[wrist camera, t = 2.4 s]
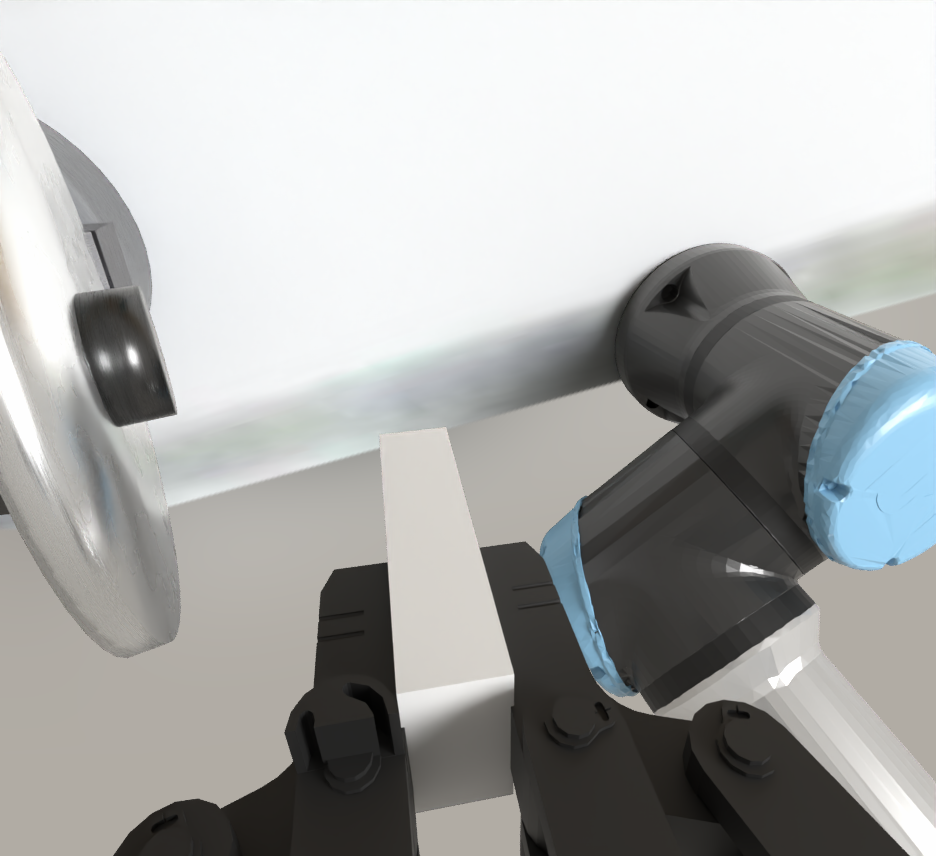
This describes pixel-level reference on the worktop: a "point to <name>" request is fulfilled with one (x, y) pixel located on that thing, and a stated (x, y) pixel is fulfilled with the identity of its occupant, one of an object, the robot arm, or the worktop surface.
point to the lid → (79, 405)
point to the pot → (101, 220)
